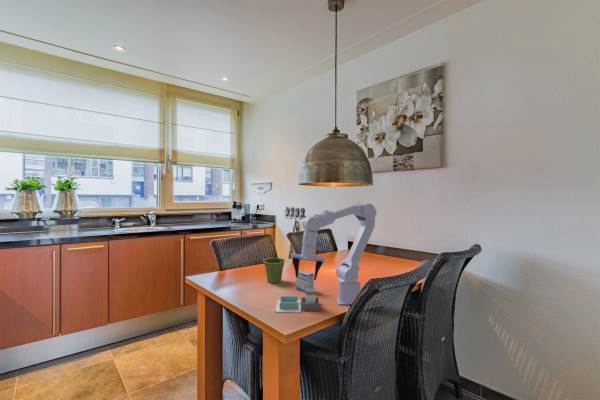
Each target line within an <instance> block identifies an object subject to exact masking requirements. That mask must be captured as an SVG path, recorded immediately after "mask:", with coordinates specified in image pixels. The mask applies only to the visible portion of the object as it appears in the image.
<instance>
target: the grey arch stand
mask: <svg viewBox="0 0 600 400" xmlns="http://www.w3.org/2000/svg"><path fill="white" fill-rule="evenodd" d="M319 299H320V298H319V297H318V296H317V297H316V301H315V304H312V303H305V302H306V296H302V297H301V311H320V309H321V307H320V302H319V301H320V300H319Z"/></svg>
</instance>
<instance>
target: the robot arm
mask: <svg viewBox="0 0 600 400" xmlns="http://www.w3.org/2000/svg"><path fill="white" fill-rule="evenodd" d="M377 213H378V212H377V209H376V208H375V206H374V205H373V204H371V203H362V202H356V203H352V204H350V205H349V204H348V206H344V207H342V208H339V209H337V210H334V211H331V210H328V209H325V210H324V209H323V212H320V213H315V214H313V216H306V217H305V218H304V219H303V221H302V224H301V225H302V227H303V235H302V246H301V253H290V257H289V259H291V261H292V265H293V268H294V273H295V278H296V277H298V272H299V271H300V269H299V268H300V261H308V262H315V268H314V269H315V271H314V281H316V280H317V277H318V274H319V271H320V268H321V267H322V265H323V264H326V259H327V258H326V257H321V256H318V255H317V256H316V250H317V240H318V231H319V230H320V229H321V228H323V227H326V226H329V225H333V224H334V223H335V221H336V220H337V219H341V218H344V217H348V216H350V215H354V217H355V218H356V219H357V220H358V221H359V224H360V227H359V230H358V232H357V234H356V237H355V239H354V240H353V243H352V244H351V248H350V250H349V252H348V254H347V256H346V257H345V258H344V259H343V260H342V261H341V263H340V264H339V265H338V266H337V267H336V268H335V269H336V270H335V272H336V273H335V274H336V276H337V277H338V282H337V283H338V290H337V292H338V293H337V297H335V298H336V302H337V304H338V305H341V306H342V305H345V306H346V305H347V306H348V305H349V306H350V304H351V303H352V301H353V300H354V298H355V297H356V296H357V295H358V293H359V292H360V290H361V291H362V289H361V283H360V281H357V280H358V278H359V272H360V270H361V269H360V265H359V262H360V260H361V259H362V256H363V254H364V252H365V249H366V247H367V245H368V242H369V240H370V238H371V236H372V233H373V231H374V229H375V227H376V223H375V222H376V216H377Z"/></svg>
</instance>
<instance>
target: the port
mask: <svg viewBox="0 0 600 400" xmlns="http://www.w3.org/2000/svg"><path fill="white" fill-rule="evenodd" d="M301 311H302V299H298V295H280V299H277V303H276V307H275V313H291V314H292V313H295V314H296V313H298V314H299V313H302V312H301Z"/></svg>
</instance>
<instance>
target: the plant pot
mask: <svg viewBox="0 0 600 400" xmlns="http://www.w3.org/2000/svg"><path fill="white" fill-rule="evenodd" d="M262 262H263V263H264V267H265V272H266V273H265V274H266V281H267V282H268V283H270V284H273V283H274V284H278V283H280V282H281V281H282V279H283V278H282V276H283V270H284V266H285V263H286V259H284V258H282V257H269V258H264V259H263V261H262Z"/></svg>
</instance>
